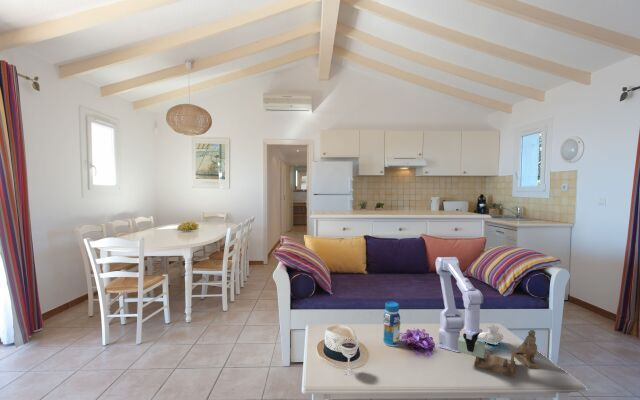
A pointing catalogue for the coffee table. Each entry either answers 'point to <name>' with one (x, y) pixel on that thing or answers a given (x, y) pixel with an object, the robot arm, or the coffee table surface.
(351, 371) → the wineglass
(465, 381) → the coffee table surface
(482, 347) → the pale green rectangular block
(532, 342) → the brown carved statuette
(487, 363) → the shelf frame
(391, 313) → the beverage bottle
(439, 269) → the robot arm
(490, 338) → the bust
